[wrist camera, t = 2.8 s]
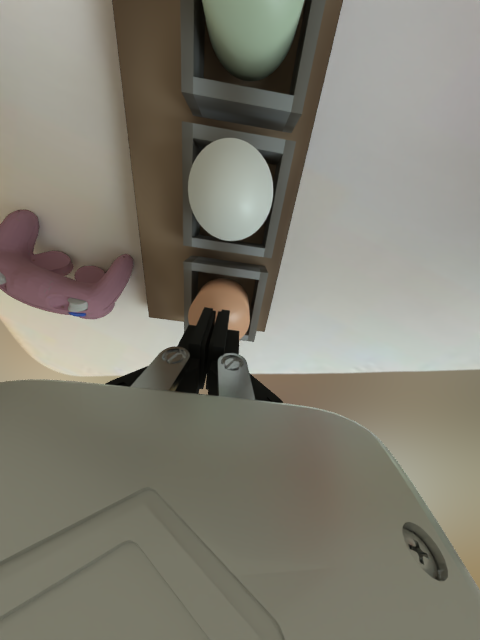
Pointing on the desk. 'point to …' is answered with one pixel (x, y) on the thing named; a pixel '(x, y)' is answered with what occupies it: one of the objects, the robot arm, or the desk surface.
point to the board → (204, 128)
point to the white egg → (230, 189)
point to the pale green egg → (251, 34)
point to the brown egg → (223, 303)
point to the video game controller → (55, 273)
